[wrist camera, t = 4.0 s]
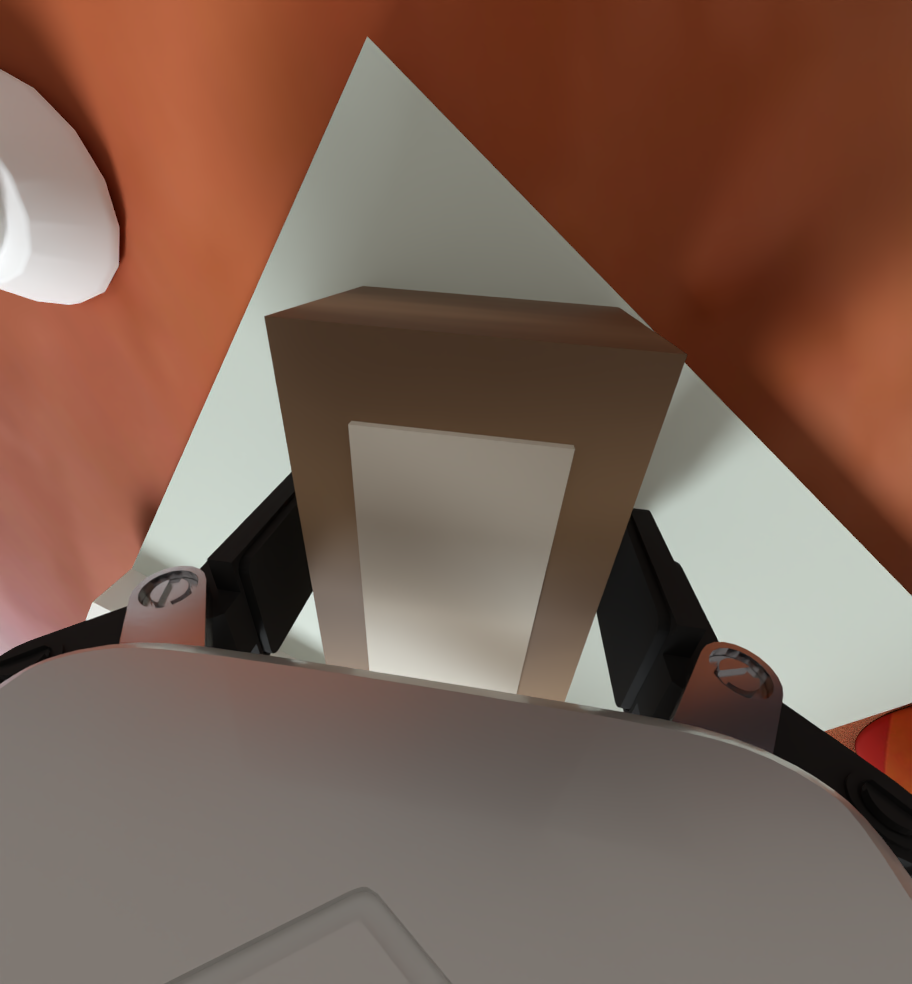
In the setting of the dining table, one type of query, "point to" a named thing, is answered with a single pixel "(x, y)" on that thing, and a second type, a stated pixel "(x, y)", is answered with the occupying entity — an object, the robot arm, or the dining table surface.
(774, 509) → the wall board
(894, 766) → the paper cup
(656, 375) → the brown rectangular box
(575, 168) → the dining table surface
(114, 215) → the white flanged bushing
